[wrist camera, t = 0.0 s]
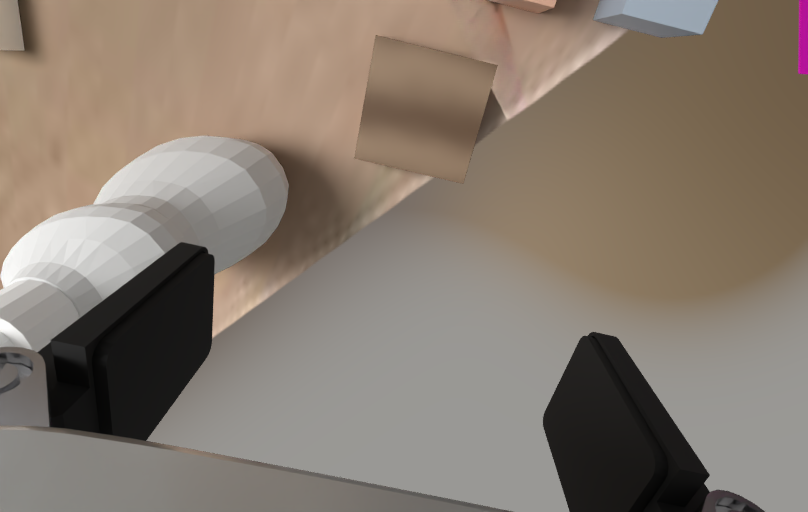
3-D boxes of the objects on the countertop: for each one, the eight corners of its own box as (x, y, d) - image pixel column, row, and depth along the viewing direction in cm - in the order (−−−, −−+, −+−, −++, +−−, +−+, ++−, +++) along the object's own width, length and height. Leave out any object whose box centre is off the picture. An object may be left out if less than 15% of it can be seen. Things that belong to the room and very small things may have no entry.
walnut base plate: (379, 36, 37) (375, 34, 34) (492, 64, 37) (497, 65, 35) (359, 151, 41) (354, 158, 38) (461, 175, 42) (463, 183, 39)
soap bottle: (188, 263, 47) (-120, 534, 21) (122, 165, 43) (-375, 348, 16) (325, 210, 44) (171, 453, 17) (270, 98, 39) (-52, 192, 13)
